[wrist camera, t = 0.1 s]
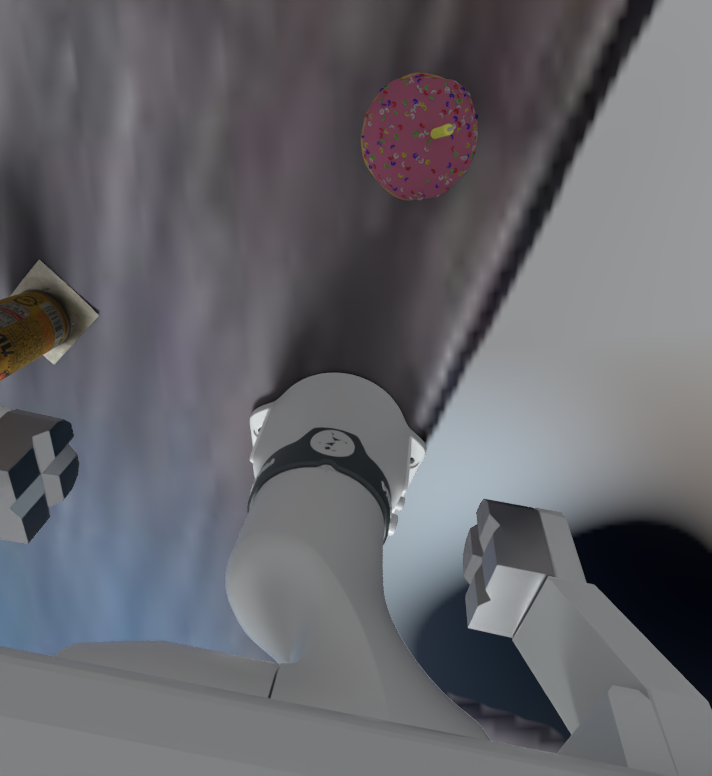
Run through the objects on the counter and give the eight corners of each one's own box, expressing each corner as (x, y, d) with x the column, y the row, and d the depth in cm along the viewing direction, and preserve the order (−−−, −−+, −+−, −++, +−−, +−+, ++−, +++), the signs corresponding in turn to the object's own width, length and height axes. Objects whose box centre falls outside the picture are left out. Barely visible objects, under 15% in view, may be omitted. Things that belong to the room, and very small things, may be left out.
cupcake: (451, 56, 40) (466, 31, 29) (486, 167, 43) (510, 181, 32) (349, 108, 42) (327, 102, 31) (389, 210, 45) (381, 236, 34)
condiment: (-4, 313, 53) (-108, 359, 43) (40, 258, 50) (-60, 294, 40) (55, 363, 55) (-30, 420, 45) (100, 314, 52) (21, 362, 42)
